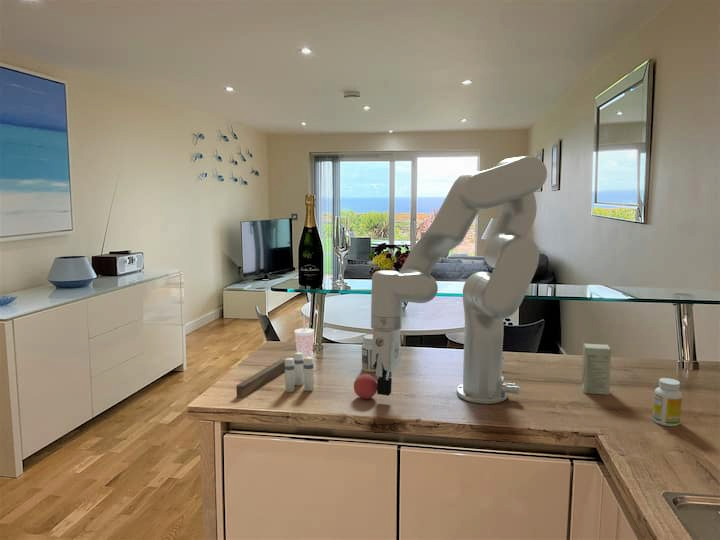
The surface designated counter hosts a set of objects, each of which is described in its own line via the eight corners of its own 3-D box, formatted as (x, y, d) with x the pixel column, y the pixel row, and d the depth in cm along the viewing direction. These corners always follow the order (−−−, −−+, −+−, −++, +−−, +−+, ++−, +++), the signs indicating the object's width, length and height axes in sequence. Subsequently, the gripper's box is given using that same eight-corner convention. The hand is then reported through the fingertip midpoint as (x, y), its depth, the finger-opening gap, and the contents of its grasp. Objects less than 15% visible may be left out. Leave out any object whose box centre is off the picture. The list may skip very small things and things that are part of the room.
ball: (380, 395, 132) (380, 372, 131) (372, 404, 127) (372, 380, 126) (359, 392, 134) (358, 369, 133) (350, 400, 129) (350, 377, 128)
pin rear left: (296, 389, 136) (295, 358, 135) (292, 392, 134) (291, 361, 133) (288, 388, 137) (287, 357, 136) (283, 391, 135) (282, 360, 133)
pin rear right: (305, 382, 141) (304, 352, 139) (301, 386, 138) (300, 355, 137) (297, 381, 142) (296, 351, 140) (292, 384, 139) (292, 354, 138)
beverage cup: (292, 360, 159) (291, 316, 157) (299, 354, 165) (298, 312, 163) (310, 362, 158) (310, 317, 156) (317, 356, 164) (316, 313, 162)
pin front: (315, 388, 137) (314, 357, 136) (311, 391, 135) (310, 360, 133) (307, 387, 138) (306, 356, 137) (302, 390, 135) (301, 359, 134)
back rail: (286, 370, 151) (286, 360, 151) (243, 397, 131) (242, 386, 130) (280, 369, 152) (280, 359, 151) (236, 396, 132) (236, 385, 131)
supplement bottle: (649, 422, 116) (652, 381, 115) (655, 414, 120) (658, 375, 119) (676, 429, 113) (680, 387, 111) (682, 421, 116) (686, 380, 115)
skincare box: (606, 389, 135) (609, 344, 134) (609, 395, 131) (612, 349, 129) (580, 386, 137) (582, 342, 135) (582, 393, 133) (585, 347, 131)
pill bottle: (381, 366, 154) (381, 334, 152) (380, 373, 148) (380, 339, 147) (362, 365, 155) (362, 333, 153) (360, 372, 149) (360, 339, 147)
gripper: (392, 330, 117) (389, 407, 120) (409, 316, 131) (406, 385, 133) (361, 327, 119) (359, 402, 122) (380, 313, 133) (379, 381, 136)
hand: (384, 393), depth 128 cm, fingers closed
